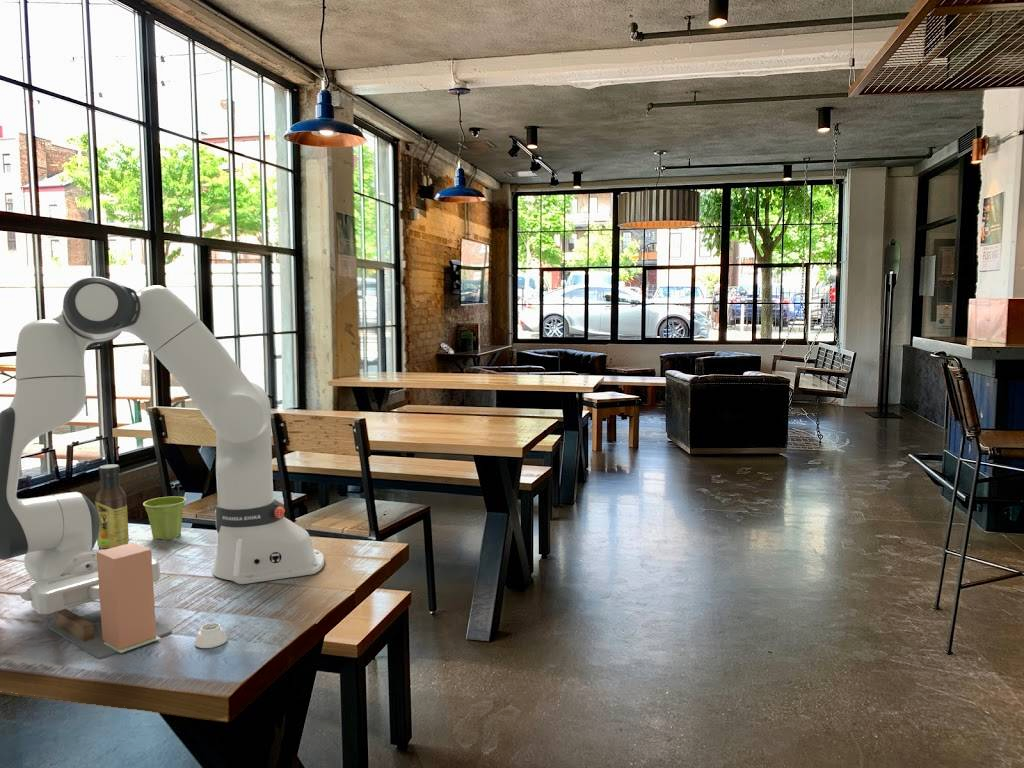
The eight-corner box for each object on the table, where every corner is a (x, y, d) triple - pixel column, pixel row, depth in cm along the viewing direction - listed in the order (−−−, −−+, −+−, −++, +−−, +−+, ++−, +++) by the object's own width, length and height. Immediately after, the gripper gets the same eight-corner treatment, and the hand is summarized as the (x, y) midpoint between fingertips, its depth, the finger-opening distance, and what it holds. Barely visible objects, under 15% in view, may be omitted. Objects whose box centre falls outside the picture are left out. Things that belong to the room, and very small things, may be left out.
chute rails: (55, 624, 135) (54, 611, 134) (114, 606, 142) (113, 593, 142) (84, 641, 128) (83, 627, 128) (144, 621, 136) (143, 607, 135)
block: (102, 639, 128) (96, 551, 126) (138, 627, 133) (133, 542, 131) (119, 649, 124) (114, 559, 123) (156, 636, 129) (151, 549, 128)
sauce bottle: (94, 552, 174) (88, 465, 172) (124, 546, 179) (119, 461, 176) (103, 559, 170) (97, 470, 168) (133, 552, 174) (128, 465, 172)
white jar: (231, 644, 128) (222, 634, 132) (230, 627, 127) (221, 617, 131) (199, 653, 125) (191, 642, 129) (198, 635, 125) (190, 625, 129)
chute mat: (48, 628, 134) (48, 625, 134) (118, 606, 144) (118, 603, 144) (103, 661, 122) (103, 658, 122) (176, 635, 131) (176, 632, 131)
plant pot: (140, 535, 186) (138, 500, 185) (181, 528, 192) (179, 494, 191) (151, 545, 179) (149, 508, 178) (193, 537, 185) (191, 501, 184)
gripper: (14, 575, 130) (49, 594, 121) (136, 544, 146) (174, 559, 137) (17, 611, 130) (52, 633, 122) (138, 577, 146) (176, 593, 138)
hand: (118, 593), depth 130 cm, fingers closed, pressing on block
